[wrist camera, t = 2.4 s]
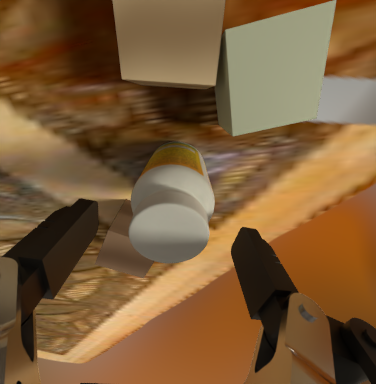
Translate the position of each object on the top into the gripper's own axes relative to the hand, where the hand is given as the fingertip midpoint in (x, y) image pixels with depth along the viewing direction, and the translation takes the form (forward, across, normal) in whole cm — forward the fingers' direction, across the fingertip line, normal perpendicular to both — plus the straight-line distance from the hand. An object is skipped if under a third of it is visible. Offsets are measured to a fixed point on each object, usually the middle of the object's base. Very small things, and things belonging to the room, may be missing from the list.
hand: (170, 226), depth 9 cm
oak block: (+8, +2, -9) cm, 13 cm away
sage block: (+8, -4, -8) cm, 13 cm away
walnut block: (+9, +3, +8) cm, 12 cm away
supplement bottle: (+9, 0, 0) cm, 9 cm away
